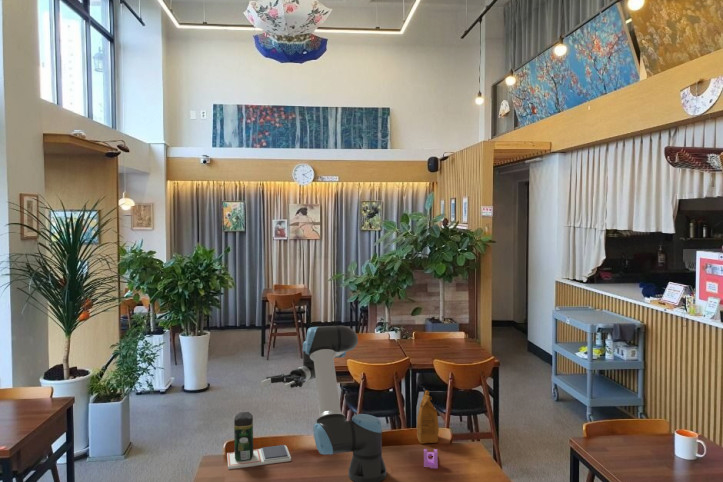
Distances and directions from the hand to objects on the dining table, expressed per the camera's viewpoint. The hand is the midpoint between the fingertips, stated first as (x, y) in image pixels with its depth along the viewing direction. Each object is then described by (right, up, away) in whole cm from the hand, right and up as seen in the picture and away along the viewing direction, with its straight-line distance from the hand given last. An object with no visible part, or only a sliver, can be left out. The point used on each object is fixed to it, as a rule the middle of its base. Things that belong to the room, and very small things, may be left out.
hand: (273, 385), depth 231 cm
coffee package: (+72, -27, +6) cm, 77 cm away
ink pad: (+3, -26, -11) cm, 29 cm away
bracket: (+70, -27, -18) cm, 77 cm away
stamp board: (-4, -28, -13) cm, 31 cm away
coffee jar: (-10, -27, -15) cm, 32 cm away
